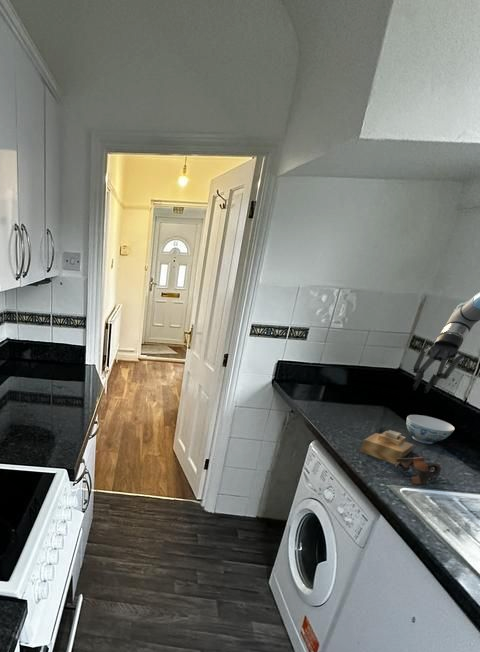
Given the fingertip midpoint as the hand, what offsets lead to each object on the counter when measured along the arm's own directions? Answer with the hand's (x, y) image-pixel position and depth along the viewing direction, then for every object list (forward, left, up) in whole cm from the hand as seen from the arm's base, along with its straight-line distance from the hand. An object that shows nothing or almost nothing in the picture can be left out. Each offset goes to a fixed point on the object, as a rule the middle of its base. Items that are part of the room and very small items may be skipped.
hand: (419, 389), depth 148 cm
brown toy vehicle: (-12, +26, -22) cm, 36 cm away
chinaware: (-4, -14, -22) cm, 26 cm away
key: (0, +13, -16) cm, 20 cm away
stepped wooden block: (0, +15, -22) cm, 27 cm away
